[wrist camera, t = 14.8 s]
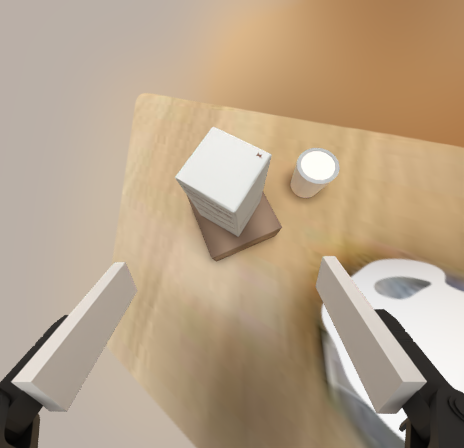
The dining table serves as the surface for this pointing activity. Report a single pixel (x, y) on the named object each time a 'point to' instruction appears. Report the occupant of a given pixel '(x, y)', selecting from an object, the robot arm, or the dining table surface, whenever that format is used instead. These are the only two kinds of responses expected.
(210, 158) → the supplement box
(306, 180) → the white cylinder
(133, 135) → the dining table surface
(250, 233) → the walnut block
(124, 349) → the dining table surface
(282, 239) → the dining table surface
